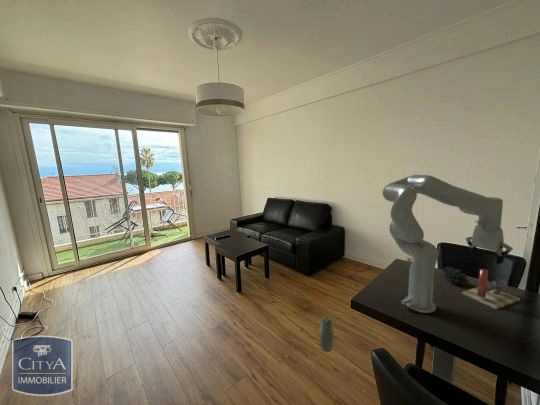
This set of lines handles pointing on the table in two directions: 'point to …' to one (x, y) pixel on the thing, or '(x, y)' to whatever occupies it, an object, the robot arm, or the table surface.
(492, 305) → the board
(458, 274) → the fruit
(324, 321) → the glass bottle
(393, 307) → the table surface
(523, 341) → the table surface
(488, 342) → the table surface
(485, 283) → the lever
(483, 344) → the table surface
